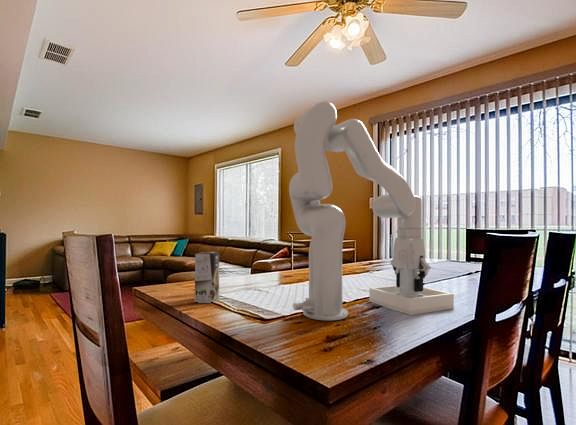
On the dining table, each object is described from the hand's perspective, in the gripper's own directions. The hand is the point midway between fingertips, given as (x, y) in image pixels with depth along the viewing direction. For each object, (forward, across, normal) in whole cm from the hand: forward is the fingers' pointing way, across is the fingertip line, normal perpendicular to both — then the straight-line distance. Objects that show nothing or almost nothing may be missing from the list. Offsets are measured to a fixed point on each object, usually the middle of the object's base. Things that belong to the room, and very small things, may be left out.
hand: (409, 288), depth 108 cm
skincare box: (+3, 0, 0) cm, 3 cm away
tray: (+5, 0, 0) cm, 5 cm away
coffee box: (+6, -33, -58) cm, 67 cm away
